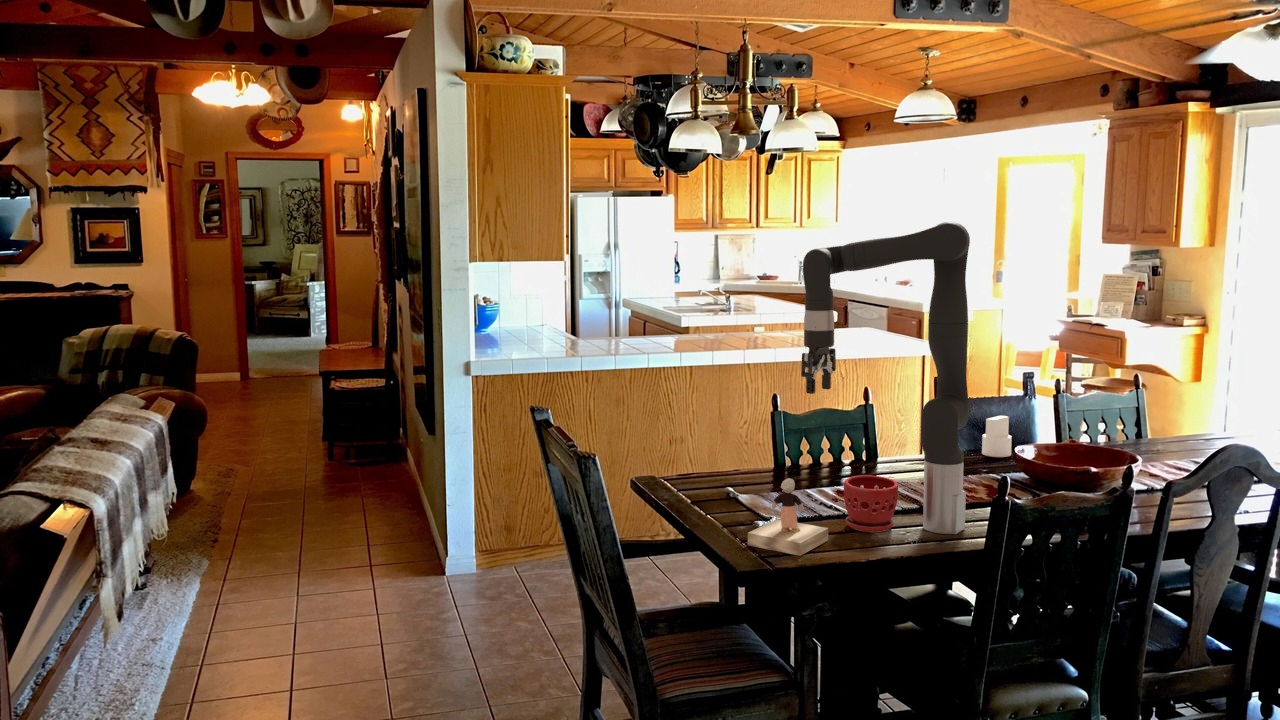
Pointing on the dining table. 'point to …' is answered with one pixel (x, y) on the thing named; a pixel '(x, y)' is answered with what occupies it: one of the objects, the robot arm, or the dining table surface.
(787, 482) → the grandmother figurine
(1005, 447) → the base with upright slab
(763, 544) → the birch platform
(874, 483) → the plant pot
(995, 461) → the dining table surface
